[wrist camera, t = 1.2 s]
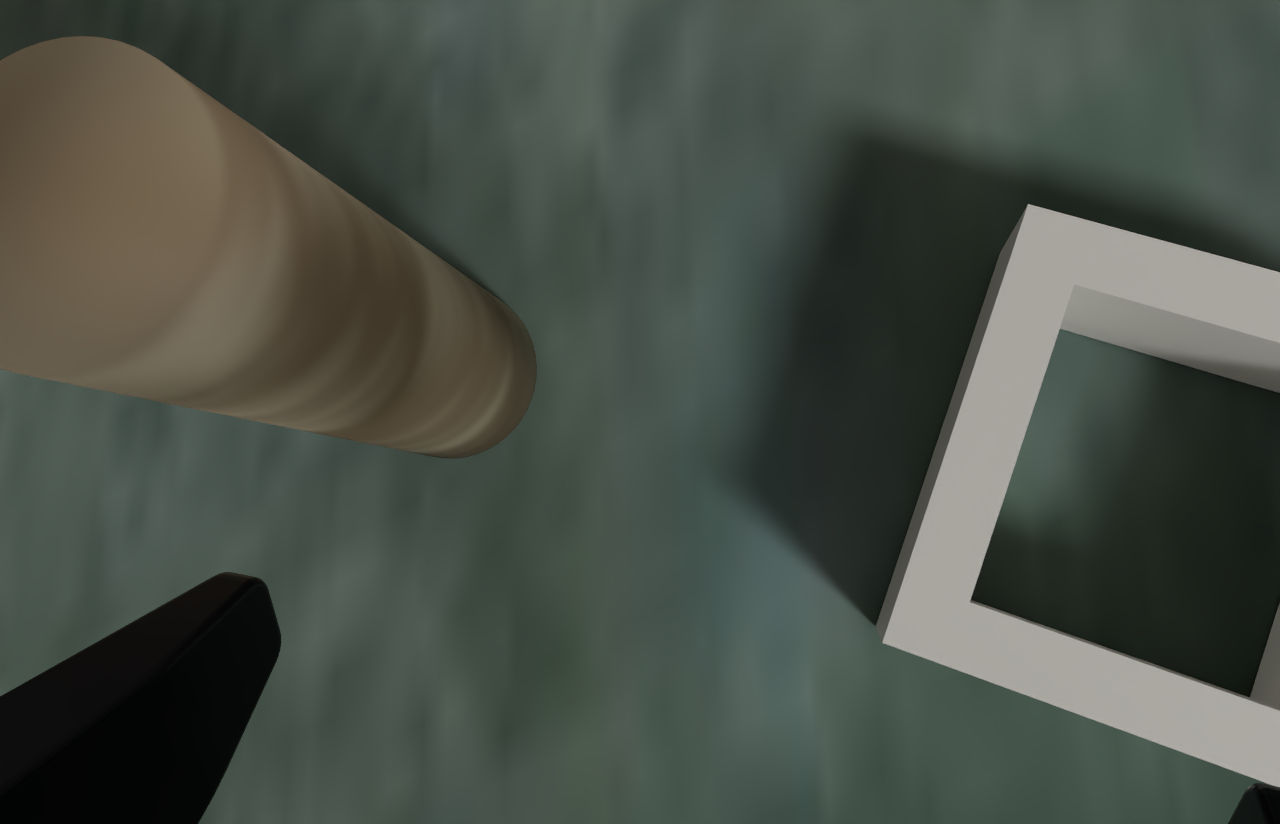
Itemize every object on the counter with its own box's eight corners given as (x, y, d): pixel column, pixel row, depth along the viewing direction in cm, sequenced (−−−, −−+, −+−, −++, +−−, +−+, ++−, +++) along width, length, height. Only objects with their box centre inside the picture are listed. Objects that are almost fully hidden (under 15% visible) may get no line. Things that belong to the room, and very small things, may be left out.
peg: (502, 481, 25) (142, 422, 12) (349, 426, 25) (-141, 315, 13) (560, 316, 25) (269, 84, 12) (406, 267, 26) (-19, 1, 13)
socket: (1295, 779, 21) (1384, 826, 18) (875, 626, 23) (882, 642, 19) (1421, 372, 21) (1532, 340, 18) (1000, 253, 23) (1028, 203, 20)
